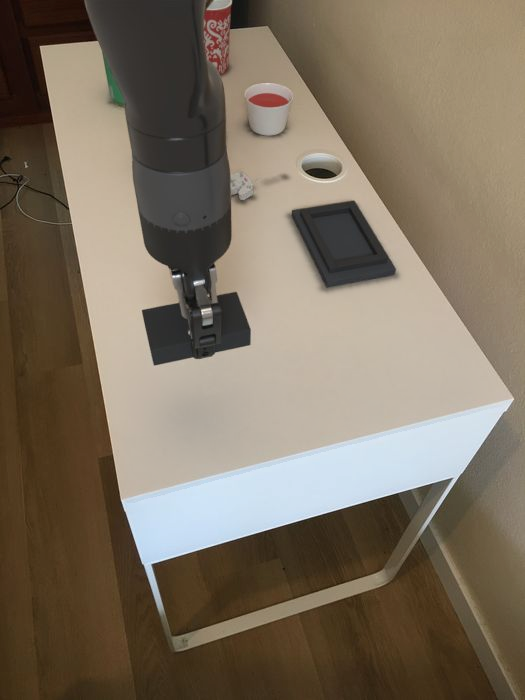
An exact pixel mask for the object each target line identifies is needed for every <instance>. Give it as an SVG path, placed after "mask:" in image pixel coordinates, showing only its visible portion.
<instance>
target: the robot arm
mask: <svg viewBox="0 0 525 700" xmlns="http://www.w3.org/2000/svg"><path fill="white" fill-rule="evenodd" d="M83 1H84V6H85V8H86V14H87V16H88V19H89V23H90V25H91V27H92V30H93V33H94V35H95V38H96V40H97V42H98V45H99V47H100V49H101V53H102V52H103V54H104V57H105V59H106V62H107V64H108V66H109V69H110V71H111V74H112V76H113V78H114V80H115V82H116V84H117V86H118V88H119V90H120V92H121V94H122V96H123V99H124V107H123V108H124V115H125V121H126V127H127V133H128V134H127V135H128V140H129V146H130V150H131V159H132V160H131V168H132V169H131V172H132V182H133V189H134V195H135V200H136V205H137V211H138V217H139V221H140V223H139V224H140V229H141V233H142V240H143V244H144V247H145V250H146V251H147V253H148V254H149V255H150V256H151V258H153V259H154V261H156V262H158V263H159V264H161V265H164V266H166V267H167V268H168V272H169V276H170V279H171V282H172V283H171V284H172V285H173V288H174V290H175V291H176V296H177V303H179V308H180V312H181V314H182V316H183V317H184V318H186V319H187V323H188V329H189V330H188V335H190V339H191V347H192V354H193V359H195V360H203V359H207V358H211V357H213V356H214V355H215V354H216V353H215V344H220V343H221V321H222V307H221V306H220V304H219V302H218V301H217V295H218V294H217V288H216V287H217V286H216V284H217V282H218V274H217V267H216V262H217V261H218V260H220V259H221V258H222V257H223V256H224V255H225V254H226V253H227V251H228V250H229V248H230V246H231V243H232V237H233V235H232V234H233V233H232V232H233V231H232V228H233V227H232V195H231V176H230V175H231V166H230V160H229V154H228V146H227V145H228V144H227V107H226V94H225V86H224V81H223V78H222V74H220V73H219V71H218V70H217V68H216V67H215V66H214V65H213V64H212V63H211V62H210V61H209V60H208V59H206V54H205V46H204V14H205V11H206V10H207V8H208V7H209V6H210V5H211V3H212V2H213V1H214V0H83ZM103 54H102V55H103ZM208 297H209V299H208ZM194 300H196V301H197V303H195V304H186V303H185V302H186V301H194Z"/></svg>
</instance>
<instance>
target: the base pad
mask: <svg viewBox="0 0 525 700" xmlns="http://www.w3.org/2000/svg"><path fill="white" fill-rule="evenodd" d="M291 218H292V220H293V222H294V224H295V226H296V228H297V230H298V232H299V234H300V237H301V238H302V240H303V243H304V244H305V246H306V248H307V251H308V252H309V254H310V257H311V259H312V260H313V261H312V262H313V263H314V265H315V267H316V269H317V271H318V273H319V275H320V277H321V279H322V282H323V283H324V285H325V287H326V288H330V287H336V286H341V285H347V284H353V283H359V282H364V281H369V280H374V279H381V278H384V277H391V276H395V275H396V271H397V267H396V266H395V265H394V263H393V262H392V260H391V258H390V257H389V255H388V253H387V252H386V250H385V248H384V247H383V245H382V243H381V242H380V240H379V238H378V237H377V235H376V233H375V232H374V231H373V230H374V229H372V227H371V225H370V224H369V222H368V220H367V218H366V217H365V216H364V213H363V212H362V210H361V209H360V207H359V205H358V204H357V202H356V200H347V201H340V202H335V203H329V204H323V205H322V204H321V205H316V206H309V207H303V208H297V209H292V210H291Z"/></svg>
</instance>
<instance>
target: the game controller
mask: <svg viewBox="0 0 525 700" xmlns="http://www.w3.org/2000/svg"><path fill="white" fill-rule="evenodd" d="M230 176H231V196H233V195H237V194H238V197H239V198H238V199H239V200H241V201H244V200H246V199H248V198H249V197H252V195H254V187H253V183H255V182H256V181H257V180H260V179H261V177H259V178H256V179H255V180H254V181H252V180H251V179H250V178H249V177H248V176H247V175H246V174H245V173H243V172H234V173H230ZM279 176H281V174H278V175H276V176H275V177H274V178H270V179H267V178H265V180H266V181H272V180H275V179H276V178H278V177H279ZM284 177H287V175H286V174H284Z"/></svg>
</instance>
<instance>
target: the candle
mask: <svg viewBox="0 0 525 700" xmlns="http://www.w3.org/2000/svg"><path fill="white" fill-rule="evenodd" d="M293 99H294V94H293V92H292V90H291V89H290V88H288V87H287V86H284V85H283V84H278V83H275V82H261V83H255V84H253V85H250V86H249V87H248V88H246V89H245V91H244V100H245V107H246V112H247V120H248V124H249V128H250V129H251V131H253V132H254V133H256V134H258V135H262V136H269V137H270V136H276V135H280V134H281V133H282V132H284V131H285V129H286V126H287V122H288V119H289V115H290V112H291V108H292V103H293Z"/></svg>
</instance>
